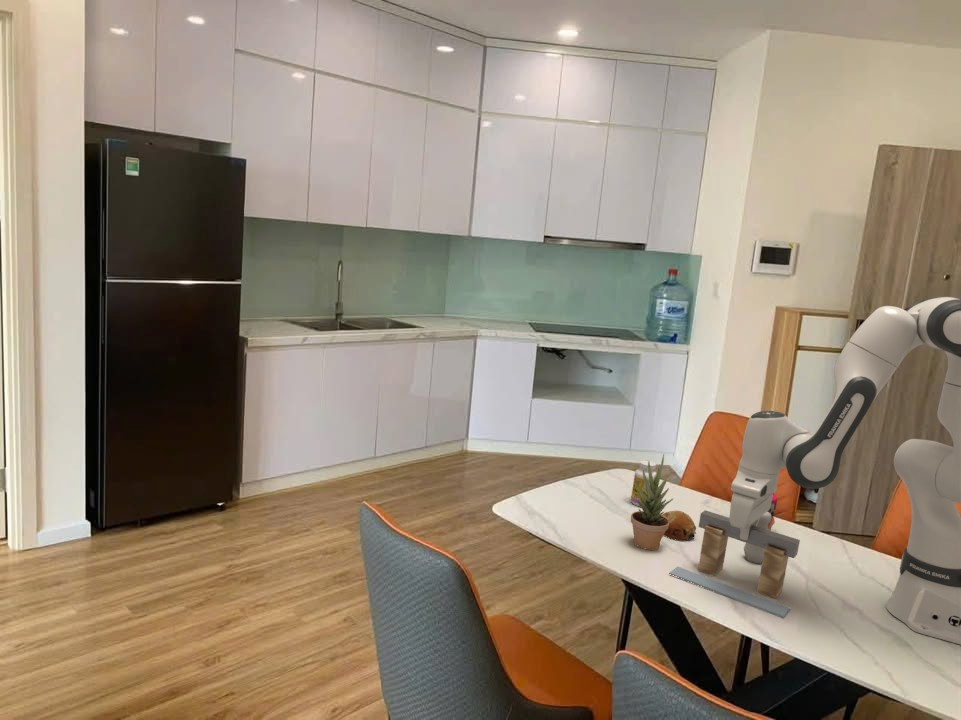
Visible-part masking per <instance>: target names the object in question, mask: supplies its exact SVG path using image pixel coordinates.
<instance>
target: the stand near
mask: <svg viewBox="0 0 961 720" xmlns="http://www.w3.org/2000/svg"><path fill="white" fill-rule="evenodd" d="M784 552H785V551H783V550H780V549H777V548H774V547H771V546H768V545H766V546H765V551H764V556H763V562H762V563H761V566H760V567H761V568H760V573H759V574H760V575H759V580H758V584H757V589H756V592H757V593H758V594H761V595H764V596H767V597H770V598H772V599H776V598H777V597H778V596H779V594H780V593H781V592H782V591H783V587H784V584H785V583H784V582H785V578H786V572H787V566H788V560H789V557H788V556H785V555H784Z"/></svg>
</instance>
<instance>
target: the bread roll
mask: <svg viewBox="0 0 961 720" xmlns="http://www.w3.org/2000/svg"><path fill="white" fill-rule="evenodd" d="M662 516H664V517H666V518H667V519H668V520H669V527H668V529H667V530H666V531H665V533H664V535H665V537H666V536H667V537H666V538H668V537H669V538H668V539H671V538H672V540H675V539H676V540H675V541H681V542H682V541H683V542H684V540H685V541H690V540H692V539H693V538H695V535H696V534H697V532H696V530H697V526H696V524H695V522H694V520H693V519H692V517H691V516H690V515H689V514H687V513H685V512H684V511H681V510H670V511H666V512H664V513H663V514H662ZM664 535H663V536H664Z"/></svg>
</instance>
